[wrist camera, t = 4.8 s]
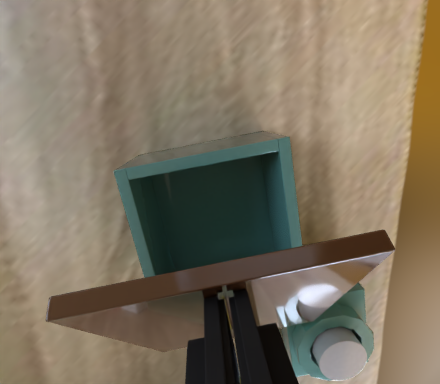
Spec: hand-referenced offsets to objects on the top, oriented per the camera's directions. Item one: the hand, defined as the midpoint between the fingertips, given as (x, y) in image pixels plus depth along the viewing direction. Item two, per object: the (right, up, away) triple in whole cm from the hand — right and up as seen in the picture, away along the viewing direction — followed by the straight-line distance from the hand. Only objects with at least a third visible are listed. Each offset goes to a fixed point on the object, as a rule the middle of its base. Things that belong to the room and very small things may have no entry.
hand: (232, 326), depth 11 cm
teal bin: (-1, +3, +17) cm, 17 cm away
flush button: (+11, -10, +16) cm, 22 cm away
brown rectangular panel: (0, -1, +5) cm, 5 cm away
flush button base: (+10, -8, +21) cm, 25 cm away
